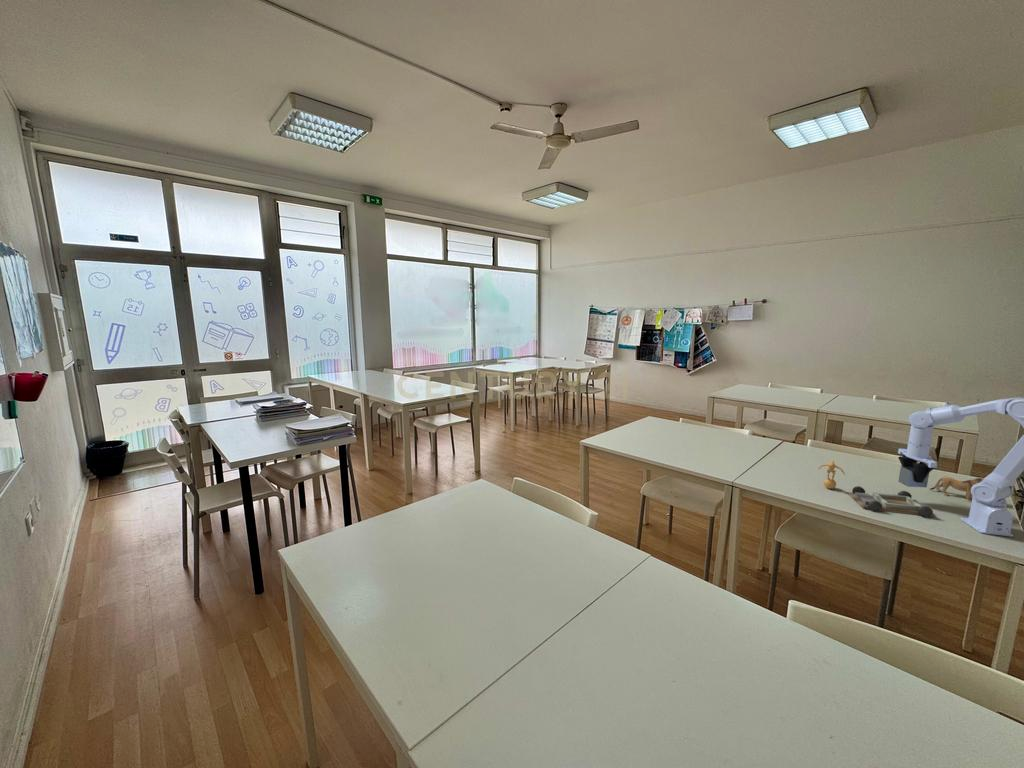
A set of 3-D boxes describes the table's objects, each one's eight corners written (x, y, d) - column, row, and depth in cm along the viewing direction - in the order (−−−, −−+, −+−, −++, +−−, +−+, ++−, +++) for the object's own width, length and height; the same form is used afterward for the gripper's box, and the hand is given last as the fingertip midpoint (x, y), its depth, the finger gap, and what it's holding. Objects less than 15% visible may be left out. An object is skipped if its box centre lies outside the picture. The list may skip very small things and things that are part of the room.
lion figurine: (985, 500, 152) (990, 477, 151) (986, 505, 149) (991, 481, 147) (929, 488, 163) (933, 466, 161) (928, 492, 159) (932, 470, 157)
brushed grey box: (926, 487, 148) (929, 471, 147) (907, 486, 149) (910, 471, 148) (916, 482, 153) (919, 466, 152) (898, 481, 154) (900, 466, 153)
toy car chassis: (936, 518, 140) (938, 508, 139) (864, 510, 146) (866, 500, 146) (912, 500, 153) (914, 491, 152) (847, 494, 159) (849, 485, 158)
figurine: (843, 489, 163) (847, 460, 161) (841, 494, 158) (845, 465, 156) (817, 483, 168) (820, 455, 166) (814, 488, 164) (818, 459, 162)
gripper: (949, 450, 141) (943, 488, 143) (915, 437, 155) (909, 471, 157) (926, 450, 142) (920, 487, 144) (894, 437, 156) (888, 471, 158)
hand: (913, 479), depth 151 cm, fingers closed on brushed grey box, 4 cm apart
